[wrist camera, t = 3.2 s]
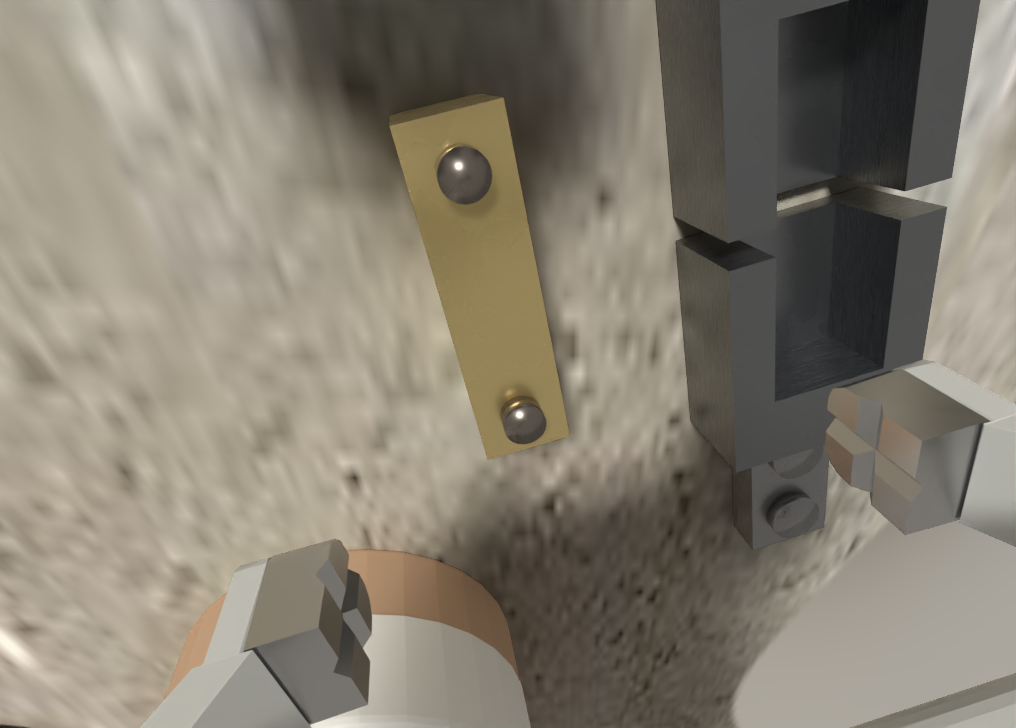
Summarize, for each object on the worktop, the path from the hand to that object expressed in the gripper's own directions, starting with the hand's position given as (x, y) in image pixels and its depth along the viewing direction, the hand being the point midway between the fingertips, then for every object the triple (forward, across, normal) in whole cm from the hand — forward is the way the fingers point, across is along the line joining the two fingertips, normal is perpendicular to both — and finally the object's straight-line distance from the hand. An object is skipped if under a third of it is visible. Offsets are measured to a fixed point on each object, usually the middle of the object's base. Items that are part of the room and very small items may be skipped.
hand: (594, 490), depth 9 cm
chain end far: (+14, -12, +6) cm, 19 cm away
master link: (+14, 0, 0) cm, 14 cm away
